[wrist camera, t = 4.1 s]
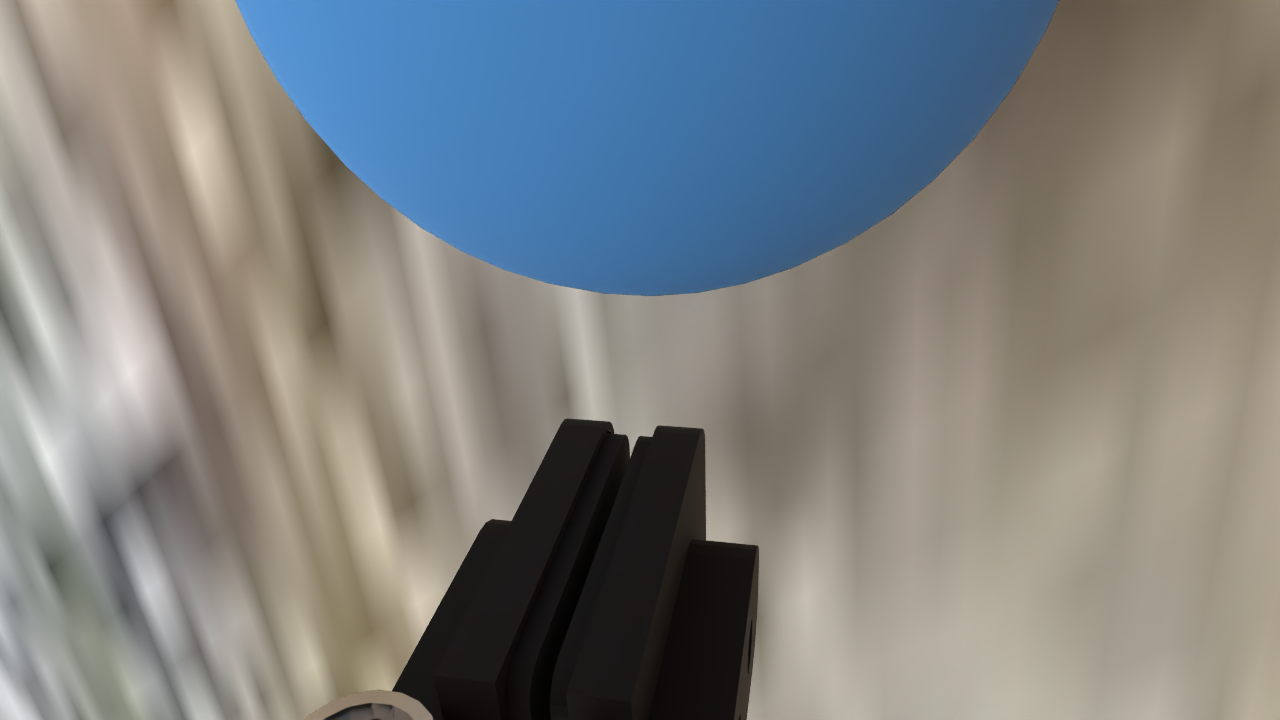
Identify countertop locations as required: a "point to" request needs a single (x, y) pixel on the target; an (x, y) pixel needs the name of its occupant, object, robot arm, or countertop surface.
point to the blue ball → (647, 121)
